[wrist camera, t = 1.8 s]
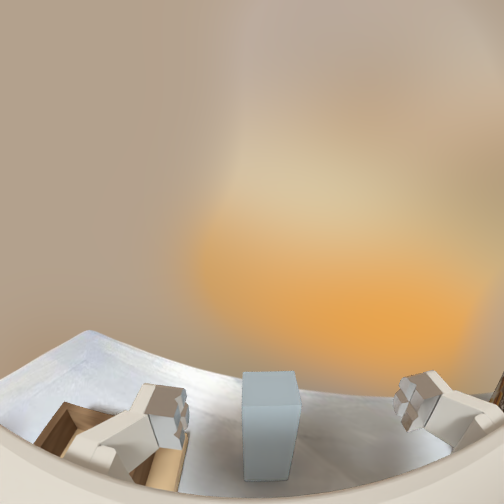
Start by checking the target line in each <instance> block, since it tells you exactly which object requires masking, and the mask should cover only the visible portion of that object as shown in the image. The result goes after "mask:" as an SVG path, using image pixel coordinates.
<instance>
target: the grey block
mask: <svg viewBox="0 0 504 504" xmlns="http://www.w3.org/2000/svg"><path fill="white" fill-rule="evenodd" d="M301 407H302V403H301V398H300V394H299V389H298V385H297V381H296V377H295V372H294V371H280V372H279V371H278V372H243V385H242V431H243V461H244V481H278V480H288V476H289V471H290V466H291V462H292V457H293V452H294V447H295V442H296V436H297V431H298V425H299V419H300V413H301Z"/></svg>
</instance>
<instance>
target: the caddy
mask: <svg viewBox="0 0 504 504" xmlns="http://www.w3.org/2000/svg"><path fill="white" fill-rule="evenodd" d="M112 417H114V416H113V415H109V414H105V413H101V412H97V411H94V410H90V409H87V408H83V407H80V406H77V405H73V404H70V403H67V402H64V403H63V404H62V405H61V407H60V408H59V409H58V411H57V412H56V413H55V415H54V416H53V417H52V419H51V420H50V421H49V423H48V424H47V426H46V427H45V428H44V430H43V431H42V432H41V434H40V435H39V437H38V438H37V440H36V441H35V442H34V445H36V446H38V447H40V448H42V449H44V450H46V451H48V452H50V453H52V454H54V455H56V456H58V457H60V458H63V457H64V455H65V454H66V452H67V450H68V449H69V447H70V445H71V444H72V442H73V440H74V439H75V437H76V435H78V434H80V433H82V432H84V431H86V430H89V429H91V428H93V427H95V426H97V425H99V424H100V423H102V422H104V421H106V420H108V419H110V418H112ZM187 444H188V436H187V433H185V440H184V445H183V449H182V450H177V449H169V448H162V447H159V449H158V450H157V451H155V452H154V453H153V454H152V455H151V456H149V457H148V458H147V459H146V460H145V461H143V462H142V463H141V464H140V465H139V466H137V467H136V468H135V469H134V470H132V471H131V472H130V473H129V475H130V476H131V478H132V480H133V481H134V483H135V484H139V485H143V486H147V487H152V488H157V489H162V490H167V491H173V492H177V491H178V486H179V481H180V476H181V472H182V467H183V462H184V458H185V453H186V448H187Z"/></svg>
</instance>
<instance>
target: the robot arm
mask: <svg viewBox="0 0 504 504" xmlns="http://www.w3.org/2000/svg"><path fill="white" fill-rule="evenodd" d="M399 387H400V390H399V391H398V392H397V393H396V394H395V396H394V399H393V407H394V411H395V413H396V414H397V415H398V416H400V417H402V420H401V423H402V425H403V426H404V428H405V430H406V432H407V433H408V432H411V431H415V430H418V429H422V428H424V429H425V430H427V431H428V432H430V433H431V434H433V435H435V436H436V437H438V438H439V439H441V440H442V441H444V442H446V443H447V444H449V445H450V446H452V447H454V449H453V451H452V452H451V454H450V455H448V456H446V457H444V458H441V459H439V460H437V461H434V462H432V463H430V464H427V465H425V466H422V467H420V468H417V469H414V470H411V471H409V472H406V473H403V474H400V475H397V476H394V477H390V478H387V479H384V480H380V481H377V482H373V483H369V484H365V485H361V486H356V487H352V488H347V489H342V490H337V491H331V492H325V493H318V494H310V495H301V496H291V497H275V498H229V497H213V496H203V495H194V494H186V493H179V492H173V491H167V490H162V489H157V488H152V487H147V486H143V485H139V484H135V483H134V481H133V480H132V478H131V476H130V475H129V473H130V472H131V471H132V470H134V469H135V468H136V467H137V466H139V465H140V464H141V463H142V462H143V461H145V460H146V459H147V458H148V457H149V456H151V455H152V454H153V453H154V452H155V451H157V450H158V449H159V447H162V448H169V449H177V450H182V449H183V445H184V440H185V433H184V430H186V429H187V428H188V423H189V407H188V404H187V403H186V402H185V401H186V397H187V395H186V390H185V389H184V388H177V387H170V386H163V385H154V384H148V383H144V384H143V385H142V387H141V388H140V390H139V392H138V394H137V396H136V398H135V400H134V402H133V404H132V406H131V408H130V410H129V411H126V410H125V411H123V412H121V413H120V414H118V415H116V416H114V417H112V418H110V419H108V420H106V421H104V422H102V423H100V424H99V425H97V426H95V427H93V428H91V429H89V430H86V431H84V432H82V433H80V434H78V435H76V437H75V439H74V440H73V442H72V444H71V445H70V447H69V449H68V450H67V452H66V454H65V455H64V457H63V458H60V457H58V456H56V455H54V454H52V453H50V452H48V451H46V450H44V449H42V448H40V447H38V446H36V445H34V444H32V443H30V442H28V441H27V440H25V439H23V438H21V437H20V436H18V435H16V434H15V433H13V432H11V431H10V430H8V429H7V428H5V427H4V426H2V425H1V424H0V504H504V413H503V411H502V410H501V409H500V408H499V407H498V406H497V405H495V404H493V403H490V402H487V401H484V400H481V399H478V398H476V397H473V396H470V395H468V394H465V393H462V392H460V391H457V390H454V391H453V390H452V389H451V388H450V387H449V386H448V385H447V383H446V382H445V381H444V380H443V379H442V378H441V377H440V376H439V375H438V373H437V372H436V371H434V370H431V371H427V372H423V373H420V374H416V375H411V376H407V377H403V378H402V379H401V380H400V383H399Z"/></svg>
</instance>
